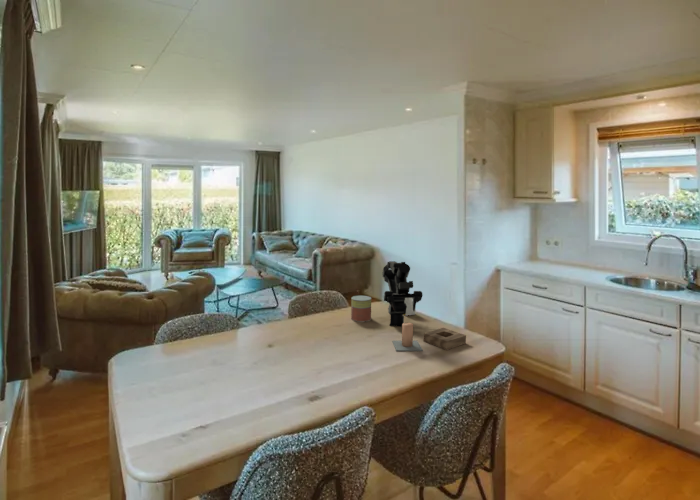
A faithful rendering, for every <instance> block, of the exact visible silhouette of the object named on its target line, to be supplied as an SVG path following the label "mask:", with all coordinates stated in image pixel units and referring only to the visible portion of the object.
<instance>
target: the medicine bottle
mask: <svg viewBox="0 0 700 500" xmlns="http://www.w3.org/2000/svg"><path fill="white" fill-rule="evenodd" d="M408 294H411V293H410V292H408ZM404 302H405V303H406V306H407V308H406V313H405V314H403V316H404V317H407V316H408V315H409V316H415V315H416V307H417V305H416V306H415V311H413V298H404Z"/></svg>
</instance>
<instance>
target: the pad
mask: <svg viewBox="0 0 700 500" xmlns="http://www.w3.org/2000/svg"><path fill="white" fill-rule="evenodd" d="M391 342H392V344H393V346H394V348H395V351H396V352H423V351H424V349H423V348H422V346H421V344H420V342H419V341H418V340H415V339H413V346H411V347H404V346H402V340H392V341H391Z"/></svg>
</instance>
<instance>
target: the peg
mask: <svg viewBox="0 0 700 500" xmlns="http://www.w3.org/2000/svg"><path fill="white" fill-rule="evenodd" d="M413 340H414V323H412V322H404V323H403V324H402V326H401V341H402V346H404V347H411V346H413Z"/></svg>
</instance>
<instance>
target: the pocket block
mask: <svg viewBox="0 0 700 500" xmlns="http://www.w3.org/2000/svg"><path fill="white" fill-rule="evenodd" d="M423 342H424V343H427V344H430V345H433V346H435V347H438V348H440V349H443V350H446V351H447V350H450V349H453V348H456V347H459V346H462V345H465V344H466V343H467V335H466V334H463V333H461V332H458V331H454V330H453V329H448V328H446V327H440V328H437V329H433V330H430V331H427V332H423Z"/></svg>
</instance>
